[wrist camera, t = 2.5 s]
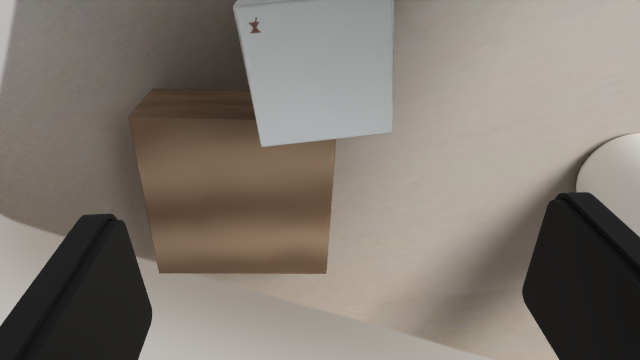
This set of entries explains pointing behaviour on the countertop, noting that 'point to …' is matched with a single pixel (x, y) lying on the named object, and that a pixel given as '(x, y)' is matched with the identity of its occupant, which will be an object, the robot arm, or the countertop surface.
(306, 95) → the supplement box
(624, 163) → the white bottle
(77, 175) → the countertop surface
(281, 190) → the walnut block
